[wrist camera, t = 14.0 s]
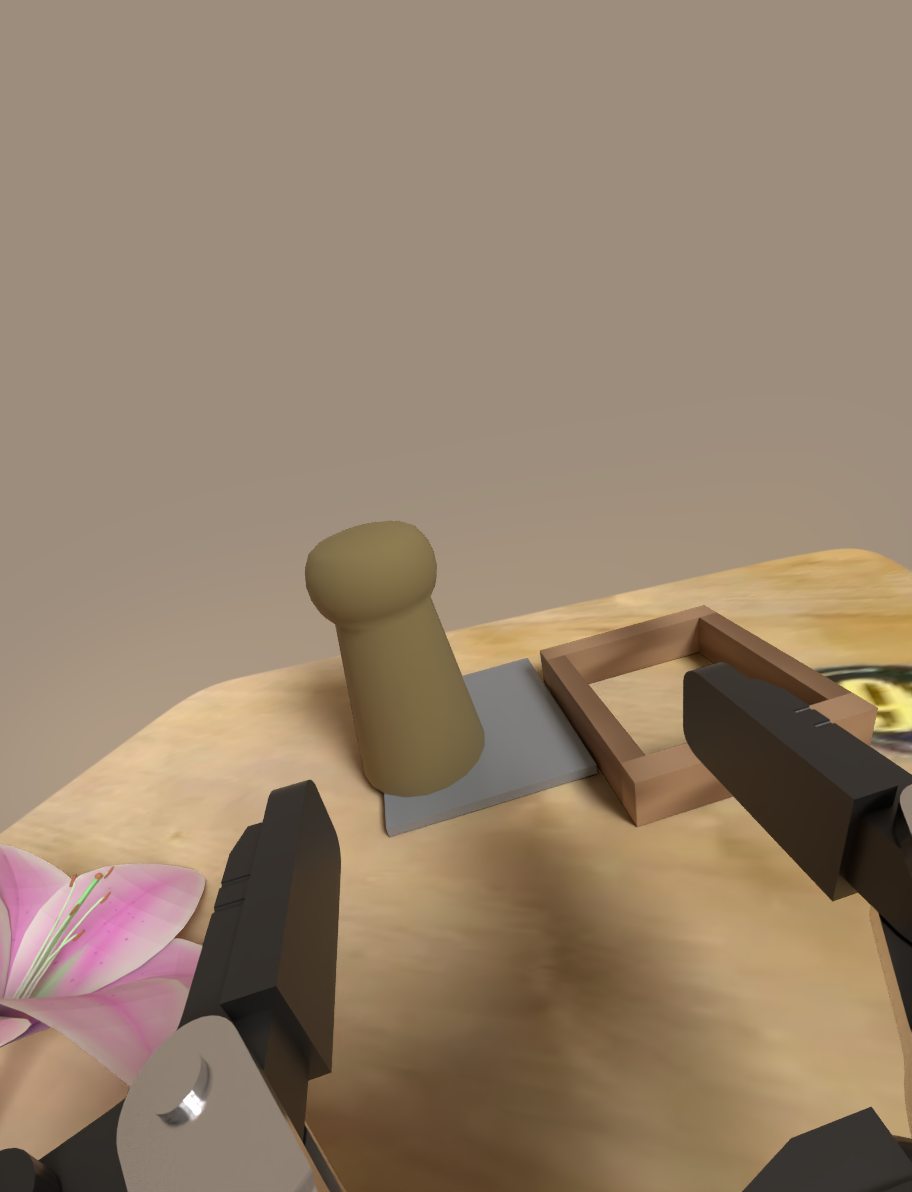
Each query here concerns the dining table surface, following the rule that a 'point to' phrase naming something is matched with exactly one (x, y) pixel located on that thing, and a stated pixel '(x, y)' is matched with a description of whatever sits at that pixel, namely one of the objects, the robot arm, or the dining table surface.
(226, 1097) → the robot arm
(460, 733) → the cork
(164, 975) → the lily
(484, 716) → the plate
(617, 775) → the caddy
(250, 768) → the dining table surface
